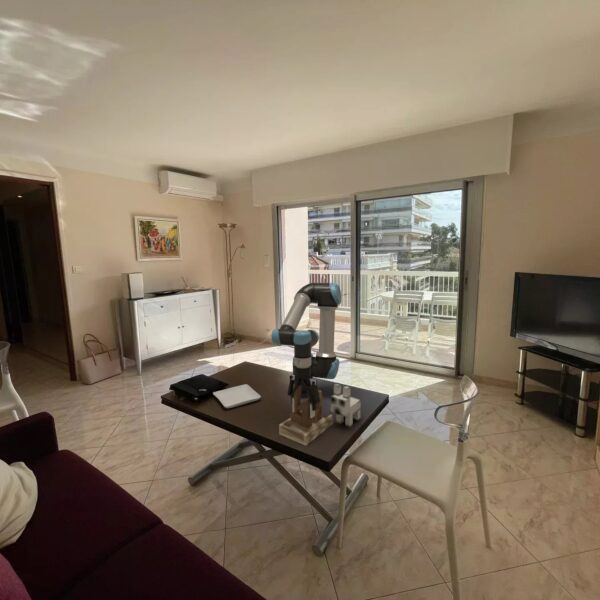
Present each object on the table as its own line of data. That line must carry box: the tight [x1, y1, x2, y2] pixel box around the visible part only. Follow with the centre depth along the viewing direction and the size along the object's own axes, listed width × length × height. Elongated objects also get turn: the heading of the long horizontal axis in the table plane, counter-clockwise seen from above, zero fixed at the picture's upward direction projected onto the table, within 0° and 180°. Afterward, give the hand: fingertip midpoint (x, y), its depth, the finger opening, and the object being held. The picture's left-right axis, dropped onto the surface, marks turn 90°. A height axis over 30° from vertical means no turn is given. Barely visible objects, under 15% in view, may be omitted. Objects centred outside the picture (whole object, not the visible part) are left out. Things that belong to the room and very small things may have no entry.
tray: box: [278, 410, 334, 447], centre depth 148 cm, size 22×15×4 cm
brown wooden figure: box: [290, 382, 312, 428], centre depth 144 cm, size 4×11×18 cm, turn 44°
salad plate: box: [212, 383, 262, 409], centre depth 180 cm, size 21×21×3 cm
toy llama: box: [330, 382, 362, 428], centre depth 153 cm, size 8×18×20 cm, turn 141°
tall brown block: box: [307, 389, 323, 423], centre depth 153 cm, size 6×4×14 cm, turn 143°
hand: (303, 413), depth 144 cm, fingers closed on brown wooden figure, 9 cm apart
